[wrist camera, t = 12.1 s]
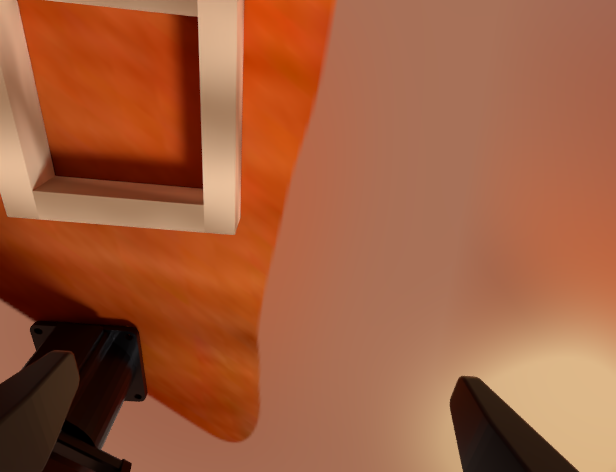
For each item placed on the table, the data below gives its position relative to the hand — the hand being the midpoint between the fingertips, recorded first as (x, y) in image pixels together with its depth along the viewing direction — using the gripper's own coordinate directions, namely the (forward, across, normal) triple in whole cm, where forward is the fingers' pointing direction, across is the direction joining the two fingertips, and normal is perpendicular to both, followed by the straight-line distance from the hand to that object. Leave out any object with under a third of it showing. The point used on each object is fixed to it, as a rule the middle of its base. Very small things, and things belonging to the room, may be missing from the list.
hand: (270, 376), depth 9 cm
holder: (+13, +8, -3) cm, 16 cm away
